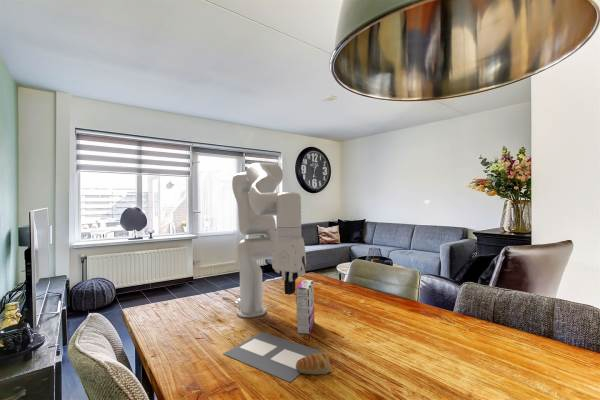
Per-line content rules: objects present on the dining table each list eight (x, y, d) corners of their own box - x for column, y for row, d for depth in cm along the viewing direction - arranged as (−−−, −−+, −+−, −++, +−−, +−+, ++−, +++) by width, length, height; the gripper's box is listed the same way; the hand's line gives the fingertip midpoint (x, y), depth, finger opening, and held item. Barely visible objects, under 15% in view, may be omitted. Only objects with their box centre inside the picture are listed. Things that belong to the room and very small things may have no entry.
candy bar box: (302, 321, 114) (301, 279, 115) (314, 322, 113) (314, 280, 114) (296, 333, 103) (295, 287, 104) (310, 334, 102) (309, 288, 103)
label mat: (223, 354, 90) (223, 353, 90) (262, 332, 105) (262, 331, 105) (290, 382, 75) (290, 381, 75) (324, 352, 90) (324, 351, 90)
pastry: (299, 378, 77) (299, 364, 77) (293, 364, 83) (293, 351, 83) (332, 373, 79) (332, 359, 79) (324, 360, 85) (324, 347, 85)
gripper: (262, 232, 89) (263, 292, 89) (302, 235, 81) (303, 301, 81) (277, 230, 96) (278, 286, 95) (316, 232, 87) (317, 294, 87)
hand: (290, 293), depth 88 cm, fingers closed
